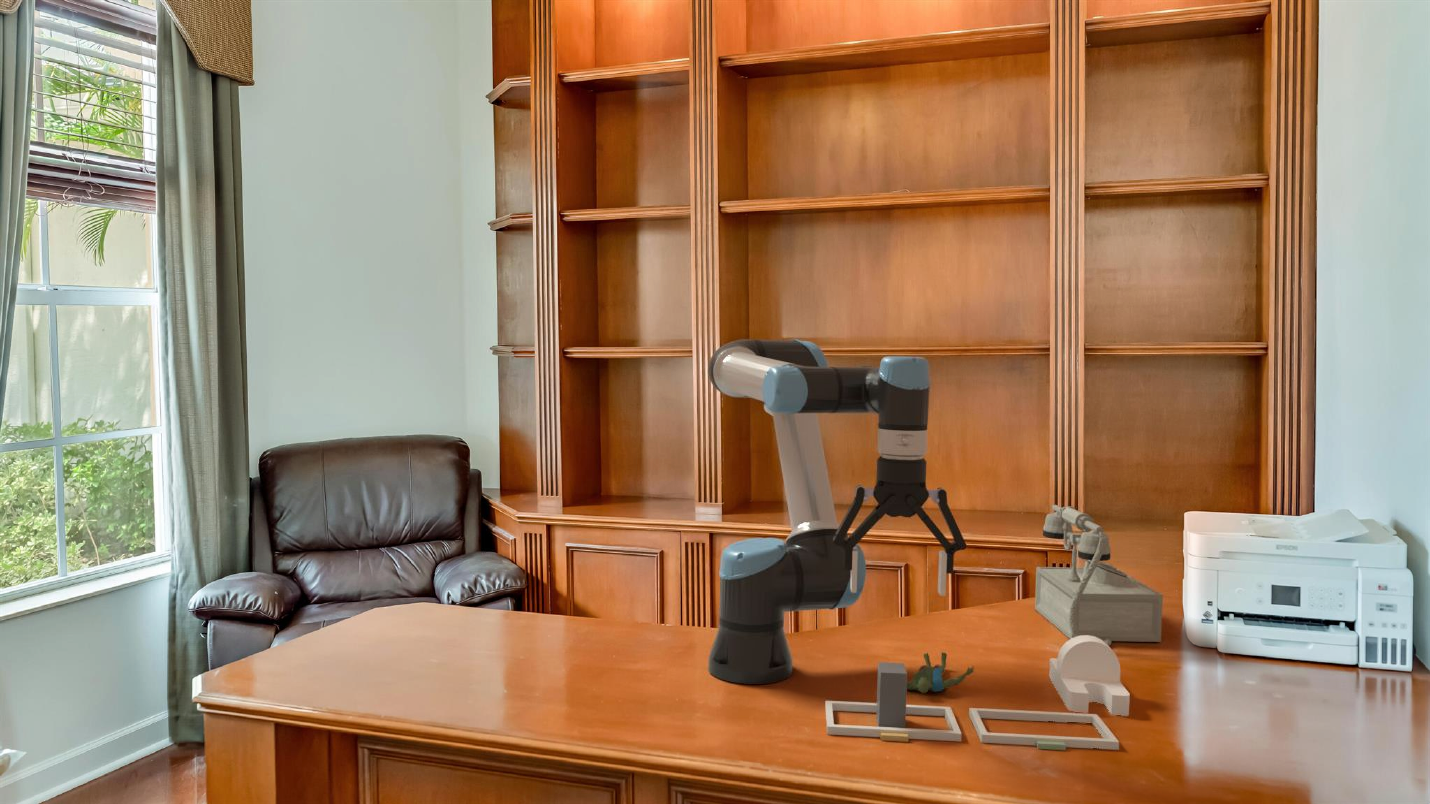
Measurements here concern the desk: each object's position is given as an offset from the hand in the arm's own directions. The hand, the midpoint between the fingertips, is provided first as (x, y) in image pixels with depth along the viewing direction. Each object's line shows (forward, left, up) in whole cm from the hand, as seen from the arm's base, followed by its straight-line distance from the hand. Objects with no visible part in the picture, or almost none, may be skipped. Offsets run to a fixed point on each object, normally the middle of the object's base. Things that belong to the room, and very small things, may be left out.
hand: (897, 592), depth 156 cm
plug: (0, 0, -21) cm, 21 cm away
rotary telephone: (+47, +59, -21) cm, 79 cm away
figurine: (+8, +20, -21) cm, 30 cm away
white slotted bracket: (+35, +18, -21) cm, 44 cm away
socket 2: (+23, 0, -21) cm, 31 cm away
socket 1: (0, 0, -21) cm, 21 cm away
